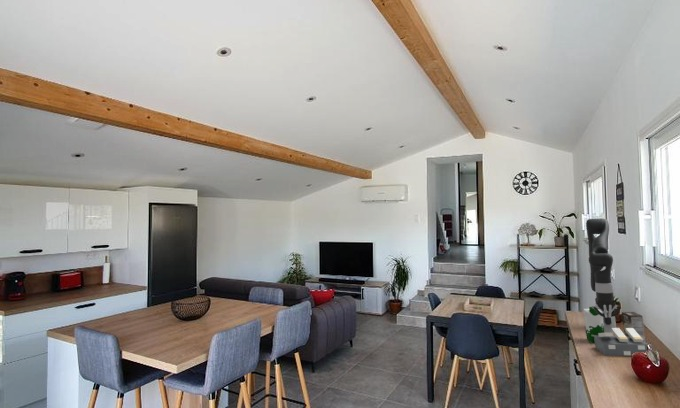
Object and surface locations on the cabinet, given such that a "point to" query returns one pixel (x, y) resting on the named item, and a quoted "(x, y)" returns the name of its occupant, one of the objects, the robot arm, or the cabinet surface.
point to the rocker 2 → (619, 334)
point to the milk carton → (593, 324)
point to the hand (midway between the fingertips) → (608, 324)
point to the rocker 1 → (605, 334)
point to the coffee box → (633, 323)
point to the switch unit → (618, 346)
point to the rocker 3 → (633, 335)
